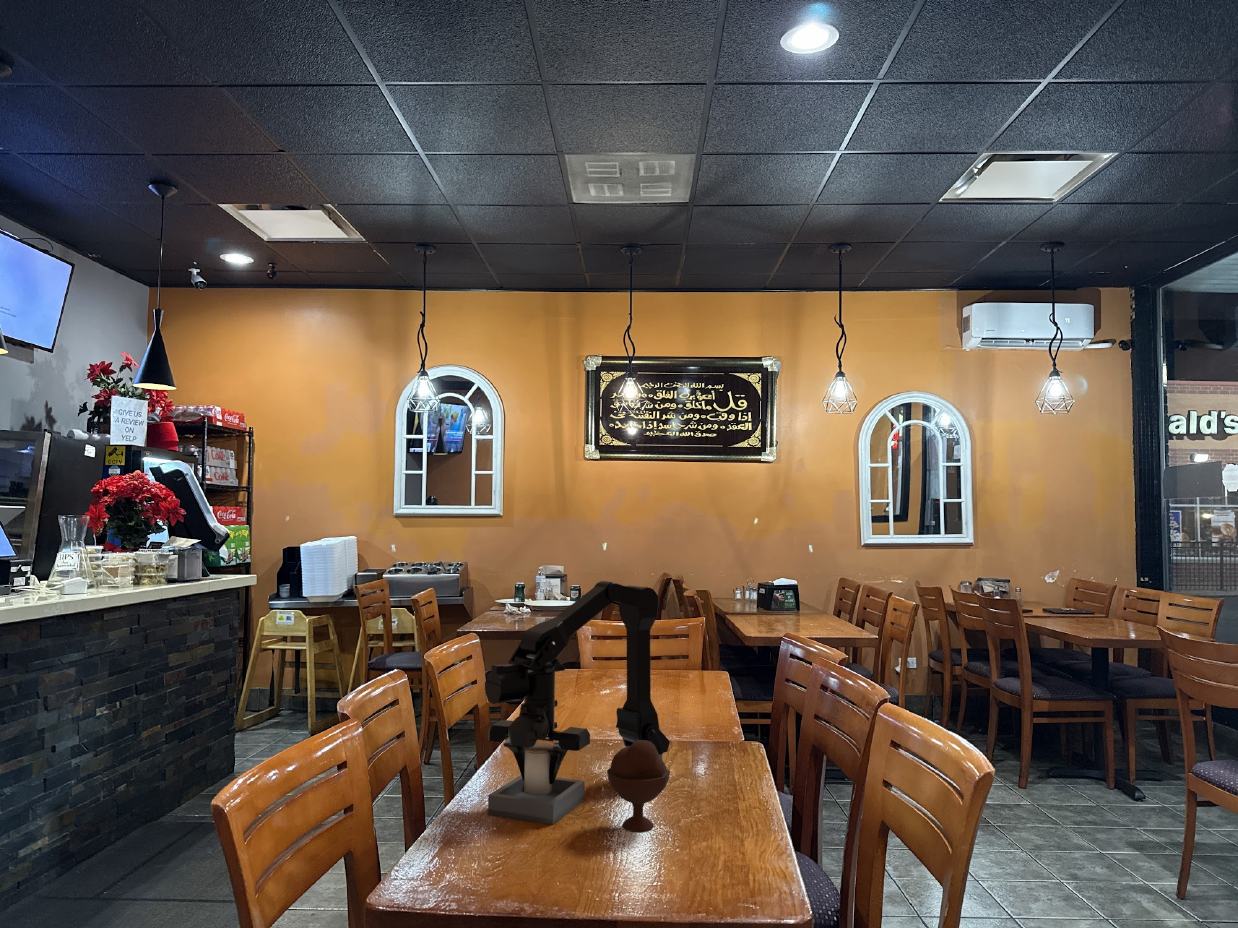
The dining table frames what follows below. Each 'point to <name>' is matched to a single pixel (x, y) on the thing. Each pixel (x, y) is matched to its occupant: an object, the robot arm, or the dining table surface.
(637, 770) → the ice cream bowl
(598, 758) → the dining table surface
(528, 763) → the cream jar
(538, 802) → the serving tray
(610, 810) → the dining table surface
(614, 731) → the dining table surface
